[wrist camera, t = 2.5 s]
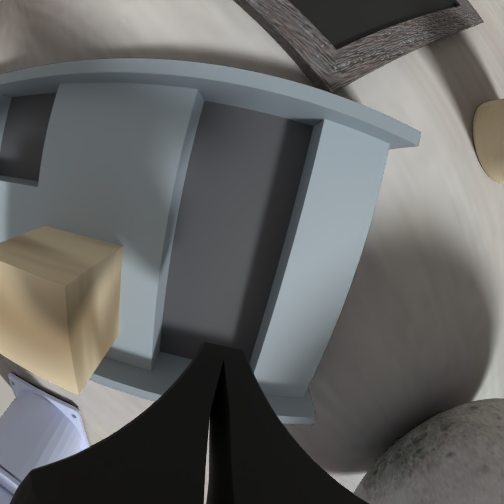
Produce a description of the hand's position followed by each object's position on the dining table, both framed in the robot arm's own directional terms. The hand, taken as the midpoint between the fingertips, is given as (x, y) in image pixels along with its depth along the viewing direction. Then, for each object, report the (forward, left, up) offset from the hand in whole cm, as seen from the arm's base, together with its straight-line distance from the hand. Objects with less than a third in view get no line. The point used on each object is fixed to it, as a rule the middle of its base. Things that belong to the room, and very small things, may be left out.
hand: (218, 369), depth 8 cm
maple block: (0, +7, -4) cm, 8 cm away
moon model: (-12, -20, -6) cm, 24 cm away
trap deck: (+2, +10, -6) cm, 12 cm away
